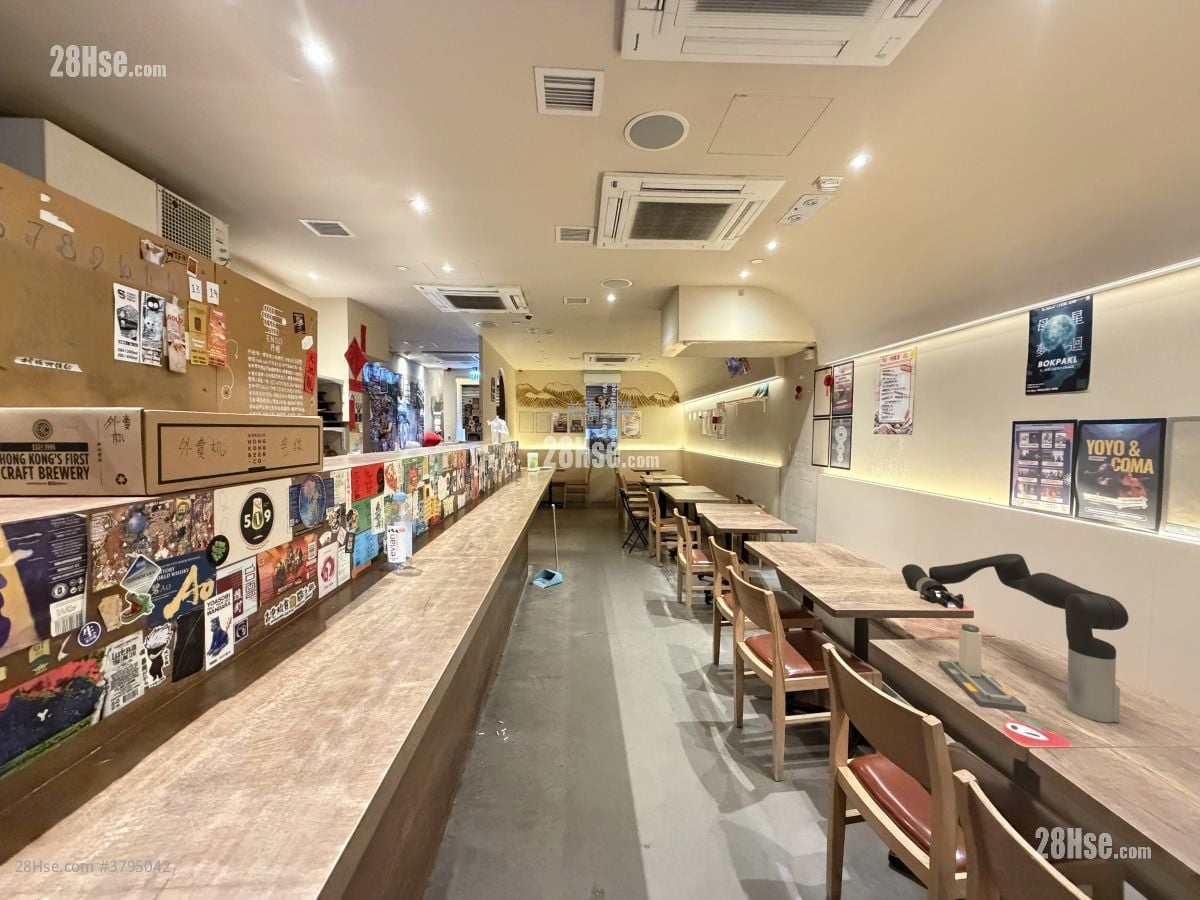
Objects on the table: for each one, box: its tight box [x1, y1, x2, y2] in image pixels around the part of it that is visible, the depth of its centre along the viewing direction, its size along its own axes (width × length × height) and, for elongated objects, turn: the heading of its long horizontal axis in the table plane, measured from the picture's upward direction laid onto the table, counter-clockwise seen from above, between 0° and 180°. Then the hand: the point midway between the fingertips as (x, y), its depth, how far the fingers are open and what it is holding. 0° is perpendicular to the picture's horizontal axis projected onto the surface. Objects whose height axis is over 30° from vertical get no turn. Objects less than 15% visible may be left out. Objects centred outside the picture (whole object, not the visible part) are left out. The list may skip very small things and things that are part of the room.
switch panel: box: [938, 659, 1027, 713], centre depth 145 cm, size 26×11×3 cm, turn 166°
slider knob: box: [958, 623, 983, 677], centre depth 150 cm, size 5×4×15 cm
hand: (953, 605), depth 160 cm, fingers open, 3 cm apart
